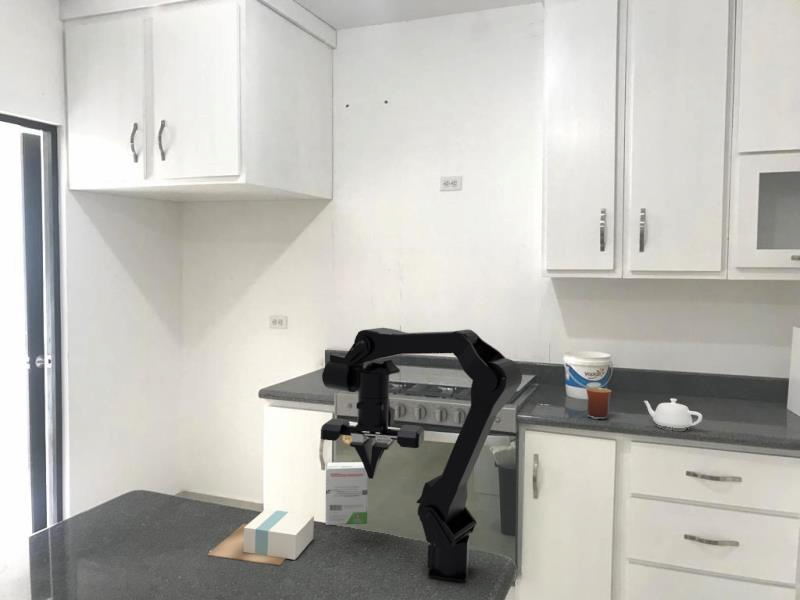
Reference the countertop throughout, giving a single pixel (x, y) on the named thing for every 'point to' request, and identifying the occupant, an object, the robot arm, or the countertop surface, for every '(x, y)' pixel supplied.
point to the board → (241, 550)
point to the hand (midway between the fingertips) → (371, 478)
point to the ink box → (346, 493)
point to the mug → (598, 402)
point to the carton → (278, 534)
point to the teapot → (673, 415)
